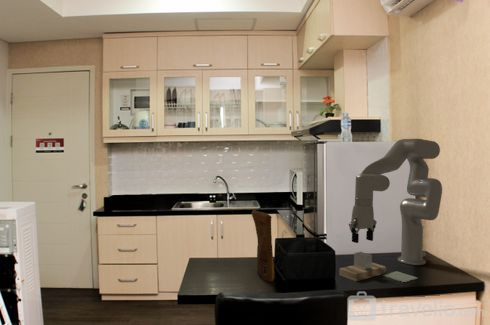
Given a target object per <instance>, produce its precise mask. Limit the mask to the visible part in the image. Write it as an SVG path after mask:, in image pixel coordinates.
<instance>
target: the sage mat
mask: <svg viewBox="0 0 490 325" xmlns="http://www.w3.org/2000/svg"><path fill="white" fill-rule="evenodd" d="M382 277H386V278H387V279H391V280H393V281H397V282H400V281H401V282H400V283H403V282H405V283H408V282H412V281H415V280H418V279H419V277H416V276H414V275H410V274H407V273H403V272H400V271H397V270H396V271H392V272H390V273H385V274H382ZM411 280H412V281H411Z"/></svg>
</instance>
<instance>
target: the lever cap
mask: <svg viewBox="0 0 490 325" xmlns="http://www.w3.org/2000/svg"><path fill="white" fill-rule="evenodd" d="M372 263H373V255H372V254H369V253H368V252H367V253H366V252H363V251H359V252H354V253H353V265H354V267H357V268H360V269H363V270H368V269H372Z"/></svg>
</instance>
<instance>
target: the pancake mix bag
mask: <svg viewBox="0 0 490 325" xmlns="http://www.w3.org/2000/svg"><path fill="white" fill-rule="evenodd" d="M251 217H252V220H253V222H254V225H255V227H254V228H255V231H256V232H255V233H256V237H257V248H256V250H257V251H256V253H257V254H256V273H257V274H258V275H259V276H260V277H261V279H262V280H263V281H266V282H270V283H271V282H273V281H274V280H275V268H274V255H273V254H274V253H273V243H272V241H273V240H272V215H270V214H268V213H266V212H262V211H258V210H255V209H253V210H252V211H251Z"/></svg>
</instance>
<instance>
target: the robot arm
mask: <svg viewBox="0 0 490 325" xmlns="http://www.w3.org/2000/svg"><path fill="white" fill-rule="evenodd" d="M440 152H441V147H440V145H439V144H438V142H436V141H434V140H429V139H428V140H427V139H423V138H403V139H402V138H401V139H399V140H397V141H395V142H394V144H393V145H392V147H390V149H389V150H388V152H386V154H385V155H384V156H382V157H381V158H380V159H377V160H376V161H374V162H372V163H370V164H368V165H367V166H366V167H364V169H363V170H362V171H361V173H360V174H356V176H355V189H354V190H355V193H354V194H355V195H354V205H353V206H352V212H351V221H350V222H349V223H348V226H349V230H350V232H351V233H350V234H351V242H353V243H355V244H359V238H360V237H359V236H360V235H359V234H360V233H359V232H360V230H364V229H366V235H365V236H366V238H365V239H366V240H367V241H370V242H372V241H374V232H375V228H376V225H377V222H378V221H376V220H375V215H374V214H375V211H374V202H373V201H374V192H385V191H387V190H388V189H389V188H390V184H391V183H390V182H391V181H390V178H388V176H386V175H384V174H387V173H391V172H394V171H397V170H399V169H400V168H401V166H402V165H403V164H404V162H405V161H406V160H407V162H408V164H409V174H408V177H407V179H408V180H407V186H406V191H407V194H409V195H410V196H413V197H421V198H411V197H407V198H404V199H403V200H401V202H400V204H399V210H400V216H401V245H400V246H401V250H400V252H401V253H400V254H401V255H400V256H398V257H397V261H398V262H400V263H402V264H406V265H413V266H422V265H426V263H427V261H426V259H424V257H425V256H426V255H427V253H426V252H425V251H423V241H424V240H423V239H424V238H423V237H424V236H423V233H424V232H423V231H424V226H423V223H422V222H421V220H425V221H434V220H436V219H437V217H438V216H439V212H440V207H441V202H442V196H443V186H442V183H441V181H440V180H438V179H437V178H434V177H433V178H432V177H429V171H430V170H429V165H428V164H427V162H426V161H425V159H427V160H434V159H436V158H438V157H439V155H440ZM422 198H426V199H422Z"/></svg>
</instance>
